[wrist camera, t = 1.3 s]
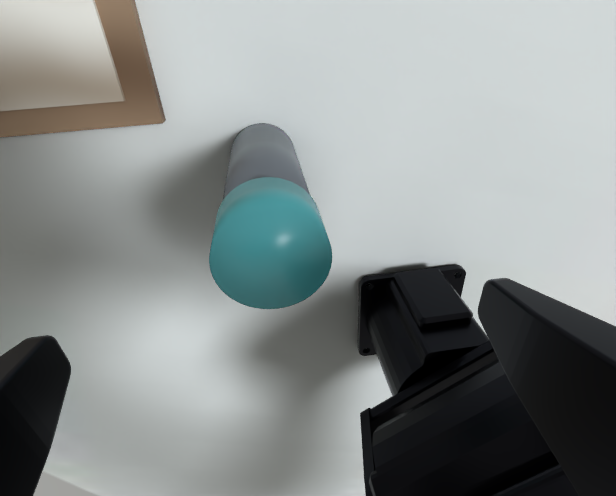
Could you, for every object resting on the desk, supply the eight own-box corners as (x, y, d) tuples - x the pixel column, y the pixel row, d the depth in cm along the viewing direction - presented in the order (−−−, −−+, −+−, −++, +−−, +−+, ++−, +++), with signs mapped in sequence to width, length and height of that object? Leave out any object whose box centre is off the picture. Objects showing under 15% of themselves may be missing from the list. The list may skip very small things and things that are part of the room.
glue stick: (299, 184, 18) (333, 301, 10) (235, 190, 18) (222, 315, 10) (294, 117, 16) (330, 200, 9) (223, 124, 16) (196, 215, 8)
